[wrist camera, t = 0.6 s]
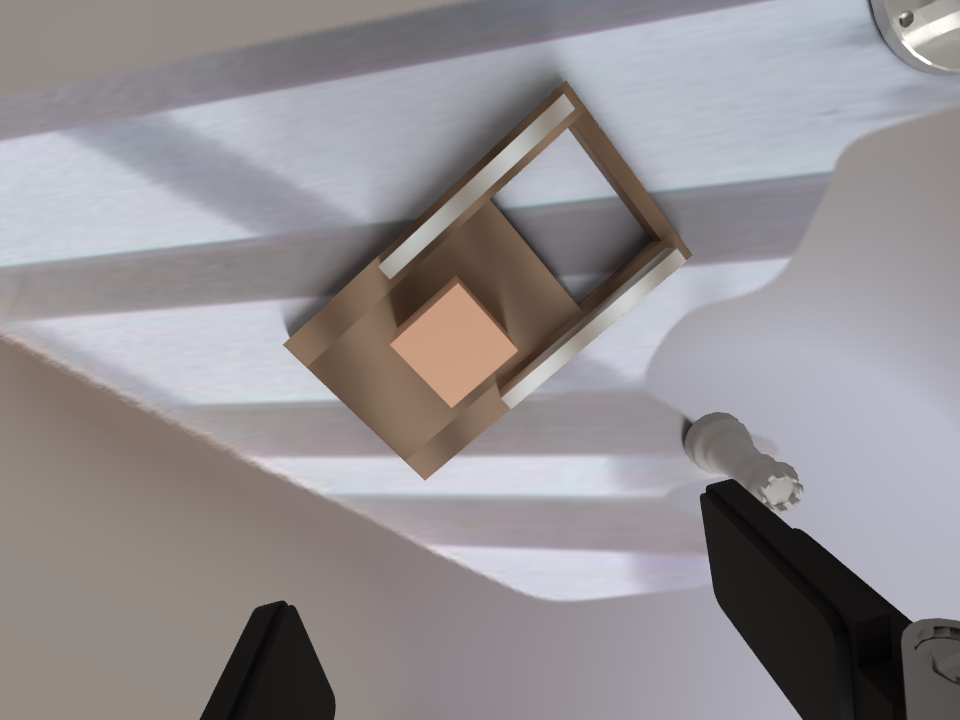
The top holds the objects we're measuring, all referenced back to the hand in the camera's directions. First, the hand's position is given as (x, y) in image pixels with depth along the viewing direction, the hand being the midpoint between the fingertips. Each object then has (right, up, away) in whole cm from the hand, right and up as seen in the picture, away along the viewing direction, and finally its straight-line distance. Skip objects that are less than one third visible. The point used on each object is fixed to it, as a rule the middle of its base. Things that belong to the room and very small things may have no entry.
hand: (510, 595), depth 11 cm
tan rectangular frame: (0, +9, +22) cm, 24 cm away
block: (-2, +7, +20) cm, 22 cm away
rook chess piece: (+16, -1, +26) cm, 30 cm away
